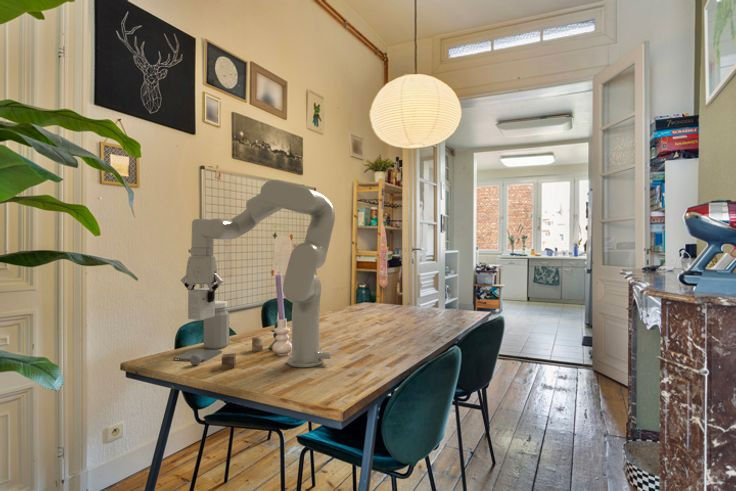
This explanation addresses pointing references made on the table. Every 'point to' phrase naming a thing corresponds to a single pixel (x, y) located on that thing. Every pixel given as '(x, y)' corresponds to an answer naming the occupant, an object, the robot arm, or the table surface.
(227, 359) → the walnut block
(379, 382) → the table surface
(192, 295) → the small box
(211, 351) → the slate trivet
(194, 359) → the grey rubber ball
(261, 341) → the cork cylinder
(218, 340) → the jar
